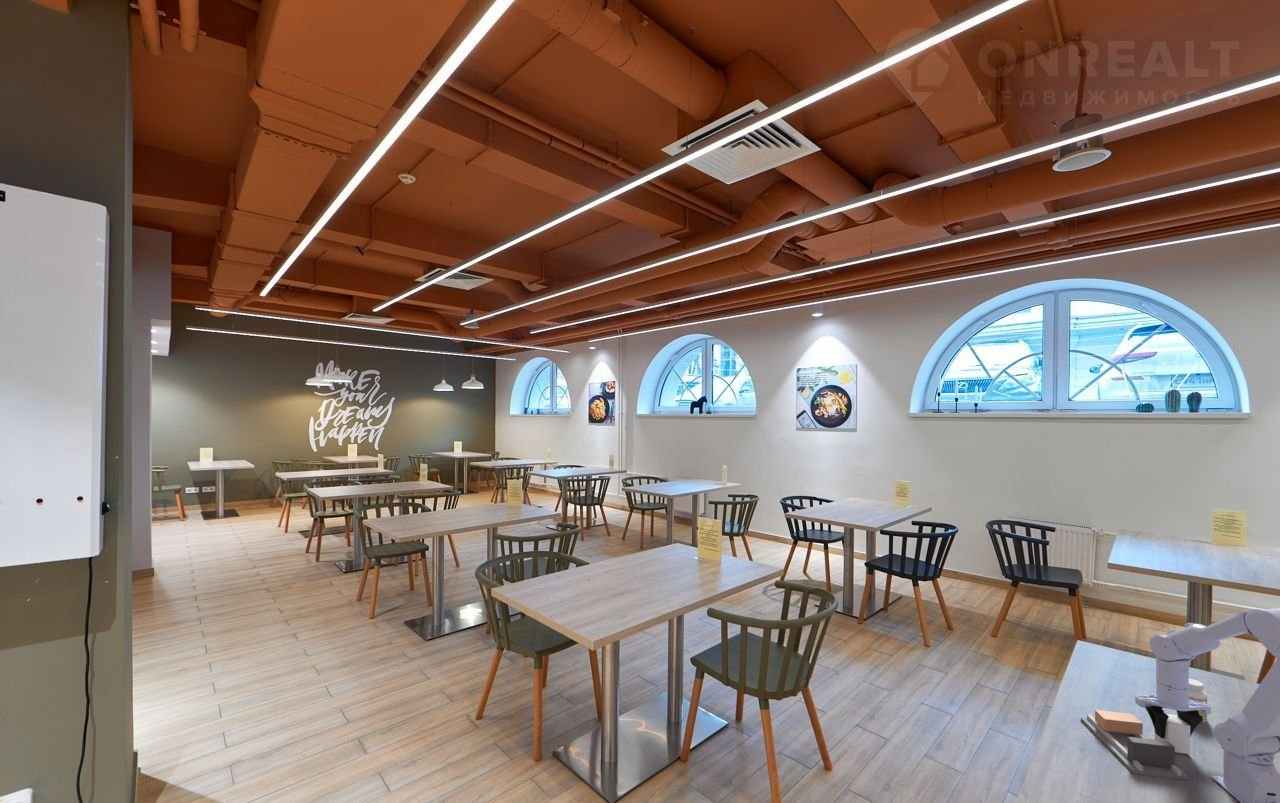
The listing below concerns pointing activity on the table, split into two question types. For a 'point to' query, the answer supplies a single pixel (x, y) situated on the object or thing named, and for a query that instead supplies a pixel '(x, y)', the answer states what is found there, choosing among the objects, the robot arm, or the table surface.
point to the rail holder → (1139, 752)
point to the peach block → (1119, 722)
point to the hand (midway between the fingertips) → (1172, 737)
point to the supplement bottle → (1197, 694)
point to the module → (1177, 734)
